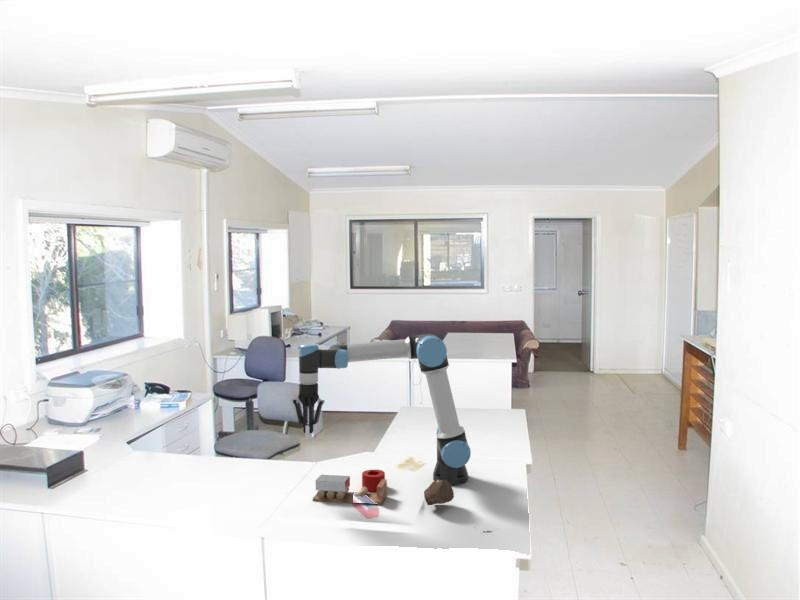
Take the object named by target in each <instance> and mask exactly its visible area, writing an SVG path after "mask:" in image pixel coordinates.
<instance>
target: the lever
mask: <svg viewBox="0 0 800 600" xmlns="http://www.w3.org/2000/svg"><path fill="white" fill-rule="evenodd" d="M385 477H386V473H385V471H384V470H381V469H367V470H364V471H363V472H361V483H362V484H361V488H362V487H367V488H368V492H367V493H374V494H376V493H377V486H378V484H379V483H380V481H381V480H382V479H386V478H385Z"/></svg>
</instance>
